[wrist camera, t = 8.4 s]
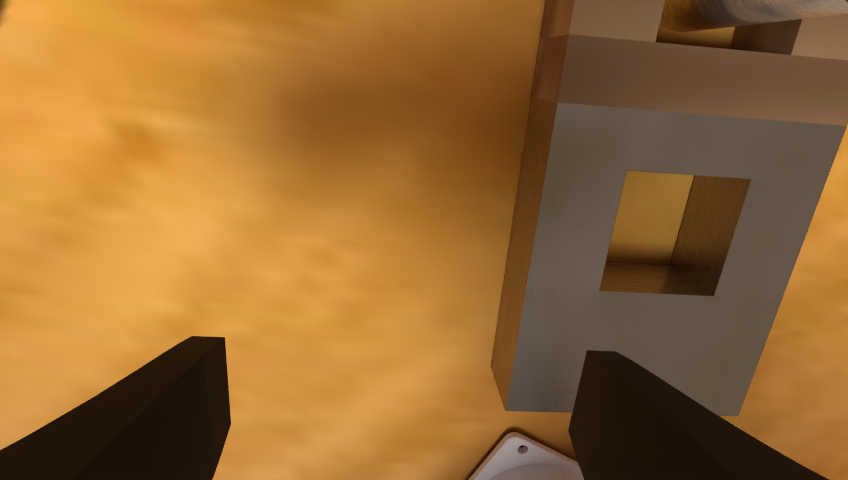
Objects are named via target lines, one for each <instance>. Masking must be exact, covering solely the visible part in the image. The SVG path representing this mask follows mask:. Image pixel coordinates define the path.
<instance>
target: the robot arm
mask: <svg viewBox="0 0 848 480" xmlns="http://www.w3.org/2000/svg"><path fill="white" fill-rule="evenodd" d="M230 425H231V419H230V404H229V390H228V376H227V362H226V348H225V337H200V336H192V337H190V338H188V339H186V340H184V341H182V342H181V343H179V344H177V345H176V346H174V347H172V348H171V349H169V350H168V351H166V352H164V353H163V354H161V355H160V356H158V357H157V358H155V359H154V360H152V361H150V362H149V363H147V364H146V365H144V366H143V367H141V368H139V369H138V370H136V371H135V372H133V373H132V374H130V375H128V376H127V377H125V378H124V379H122V380H120V381H119V382H117V383H116V384H114V385H112V386H111V387H109V388H108V389H106V390H104V391H103V392H101V393H100V394H98V395H96V396H95V397H93V398H92V399H90V400H88V401H86V402H85V403H83V404H81V405H80V406H78V407H76V408H74V409H73V410H71V411H69V412H67V413H66V414H64V415H62V416H61V417H59V418H57V419H55V420H54V421H52V422H50V423H48V424H47V425H45V426H43V427H42V428H40V429H38V430H36V431H35V432H33V433H31V434H30V435H28V436H26V437H24V438H22V439H20V440H19V441H17V442H15V443H13V444H11V445H9V446H8V447H6V448H4V449H2V450H0V480H212V478H213V476H214V474H215V471H216V468H217V465H218V462H219V459H220V456H221V453H222V450H223V447H224V444H225V441H226V438H227V434H228V431H229V428H230ZM568 431H569V434H570V438H571V441H572V444H573V448H574V451H575V454H576V458H577V460H578V462H577V461H575V460H573V459H571V458H569V457H567V456H564V455H562V454H560V453H558V452H556V451H554V450H552V449H550V448H548V447H546V446H544V445H542V444H540V443H538V442H536V441H534V440H532V439H530V438H528V437H526V436H524V435H522V434H520V433H517V432H511V433H508V434H507V435H506V436H505V437H504V438H503V439H502V440H501V441H500V443H499V444H498V445H497V446H496V447H495V449H494V450H493V451H492V452H491V453H490V455H489V456H488V457H487V458H486V459H485V461H484V462H483V463H482V464H481V465H480V466H479V468H478V469H477V470H476V471H475V472H474V474H473V475H472V476H471V477H470V478H469V480H829V479H827V478H825V477H823V476H821V475H819V474H817V473H815V472H813V471H811V470H810V469H808V468H806V467H804V466H802V465H801V464H799V463H797V462H795V461H793V460H792V459H790V458H788V457H786V456H784V455H783V454H781V453H779V452H778V451H776V450H774V449H772V448H771V447H769V446H767V445H766V444H764V443H762V442H761V441H759V440H757V439H756V438H754V437H752V436H750V435H749V434H747V433H745V432H744V431H742V430H740V429H739V428H737V427H736V426H734V425H732V424H731V423H729V422H728V421H726V420H724V419H723V418H721V417H720V416H718V415H716V414H715V413H713V412H712V411H710V410H708V409H707V408H705V407H704V406H702V405H701V404H699V403H698V402H696V401H694V400H693V399H691V398H690V397H688V396H687V395H685V394H684V393H682V392H681V391H679V390H678V389H676V388H675V387H673V386H671V385H670V384H668V383H667V382H665V381H664V380H662V379H661V378H659V377H658V376H656V375H655V374H653V373H651V372H650V371H648V370H647V369H645V368H644V367H642V366H640V365H639V364H637V363H636V362H634V361H632V360H631V359H629V358H627V357H625V356H623V355H622V354H620V353H618V352H616V351H594V350H587V352H586V356H585V360H584V365H583V369H582V373H581V378H580V382H579V386H578V391H577V395H576V399H575V404H574V408H573V412H572V417H571V421H570V426H569V430H568ZM522 445H525V446H524V447H521V448H519V447H520V446H522Z"/></svg>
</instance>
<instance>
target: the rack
mask: <svg viewBox="0 0 848 480" xmlns="http://www.w3.org/2000/svg"><path fill="white" fill-rule="evenodd" d="M664 2H665V0H546V2H545V9H544V15H543V22H542V29H541V35H540V42H539V49H538V55H537V62H536V69H535V75H534V82H533V89H532V95H531V97H535V98H539V99H544V100H548V101H553V102H558V103H570V104H582V105H595V106H607V107H619V108H632V109H644V110H656V111H669V112H681V113H694V114H706V115H718V116H731V117H743V118H755V119H768V120H780V121H792V122H805V123H817V124H829V125H842V126H847V123H848V14H840V15H831V16H823V17H814V18H805V19H797V20H788V21H779V22H771V23H762V24H753V25H744V26H736V29H735V33H734V36H733V40H732V44H731V47H730V49H722V48H712V47H701V46H690V45H680V44H669V43H659V42H656V37H657V33H658V28H659V24H660V20H661V15H662V11H663V6H664Z"/></svg>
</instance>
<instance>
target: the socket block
mask: <svg viewBox="0 0 848 480" xmlns="http://www.w3.org/2000/svg"><path fill="white" fill-rule="evenodd" d="M846 127H847V126H842V125H829V124H817V123H805V122H792V121H780V120H768V119H755V118H743V117H731V116H718V115H706V114H694V113H681V112H669V111H656V110H644V109H632V108H619V107H607V106H595V105H582V104H570V103H558V102H553V101H548V100H544V99H539V98H535V97H531V104H530V110H529V117H528V124H527V130H526V137H525V143H524V150H523V157H522V163H521V170H520V177H519V183H518V190H517V197H516V203H515V210H514V216H513V223H512V230H511V236H510V243H509V250H508V256H507V263H506V270H505V276H504V283H503V289H502V296H501V303H500V309H499V316H498V323H497V329H496V336H495V342H494V349H493V356H492V362H491V369H492V372H493V375H494V378H495V381H496V384H497V387H498V390H499V393H500V396H501V399H502V402H503V405H504V408H505V411H533V412H573V408H574V404H575V399H576V395H577V391H578V386H579V382H580V378H581V373H582V369H583V365H584V360H585V356H586V352H587V350H594V351H616V352H618V353H620V354H622V355H623V356H625V357H627V358H629V359H631V360H632V361H634V362H636V363H637V364H639V365H640V366H642V367H644V368H645V369H647V370H648V371H650V372H651V373H653V374H655V375H656V376H658V377H659V378H661V379H662V380H664V381H665V382H667V383H668V384H670V385H671V386H673V387H675V388H676V389H678V390H679V391H681V392H682V393H684V394H685V395H687V396H688V397H690V398H691V399H693V400H694V401H696V402H698V403H699V404H701V405H702V406H704V407H705V408H707V409H708V410H710V411H712V412H713V413H715V414H716V415H718V416H738V415H739V412H740V409H741V407H742V404H743V401H744V399H745V396H746V393H747V391H748V388H749V385H750V383H751V380H752V377H753V375H754V372H755V369H756V367H757V364H758V361H759V359H760V356H761V353H762V351H763V348H764V345H765V343H766V340H767V337H768V335H769V332H770V329H771V327H772V324H773V321H774V319H775V316H776V313H777V311H778V308H779V305H780V303H781V300H782V297H783V295H784V292H785V289H786V287H787V284H788V281H789V279H790V276H791V273H792V271H793V268H794V265H795V263H796V260H797V257H798V255H799V252H800V249H801V247H802V244H803V241H804V239H805V236H806V233H807V231H808V228H809V225H810V223H811V220H812V217H813V215H814V212H815V209H816V207H817V204H818V201H819V199H820V196H821V193H822V191H823V188H824V185H825V183H826V180H827V177H828V175H829V172H830V169H831V167H832V164H833V161H834V159H835V156H836V153H837V151H838V148H839V146H840V143H841V140H842V138H843V135H844V132H845V130H846ZM626 170H627V171H641V172H656V173H670V174H685V175H695V178H694V181H693V185H692V188H691V192H690V196H689V199H688V203H687V206H686V210H685V213H684V217H683V221H682V224H681V228H680V231H679V235H678V239H677V242H676V246H675V249H674V253H673V257H672V260H671V264H670V265H662V264H643V263H623V262H606V258H607V254H608V250H609V245H610V241H611V236H612V232H613V228H614V223H615V219H616V214H617V210H618V206H619V201H620V197H621V192H622V188H623V184H624V179H625V175H626Z"/></svg>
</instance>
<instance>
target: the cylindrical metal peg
mask: <svg viewBox="0 0 848 480" xmlns="http://www.w3.org/2000/svg"><path fill="white" fill-rule="evenodd" d="M840 14H848V0H665V2H664V6H663V11H662V15H661V20H660V24H659V26H660V27H661V28H663V29H665V30H667V31H670V32H675V33H684V32H692V31H701V30H710V29H718V28H727V27H736V26H744V25H753V24H762V23H771V22H779V21H788V20H797V19H805V18H814V17H823V16H831V15H840Z"/></svg>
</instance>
